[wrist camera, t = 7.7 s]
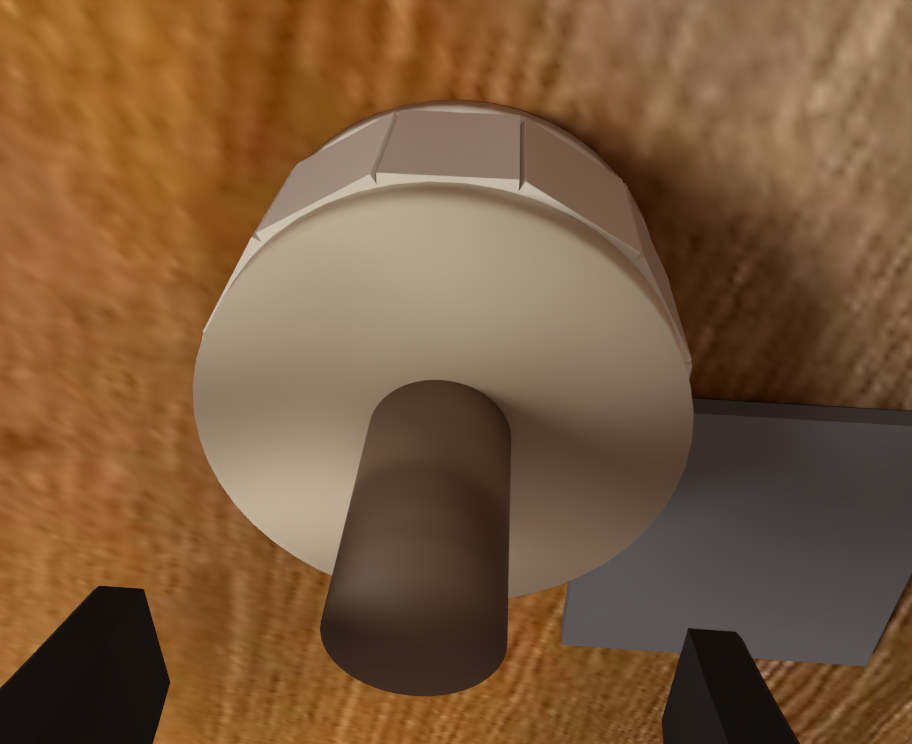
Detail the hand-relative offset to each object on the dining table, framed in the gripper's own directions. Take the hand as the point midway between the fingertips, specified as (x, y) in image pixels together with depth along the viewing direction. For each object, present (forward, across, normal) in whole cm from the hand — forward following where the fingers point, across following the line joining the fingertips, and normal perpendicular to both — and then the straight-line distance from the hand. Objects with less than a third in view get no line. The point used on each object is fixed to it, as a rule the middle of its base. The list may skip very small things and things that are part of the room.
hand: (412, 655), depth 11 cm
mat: (+10, -8, +7) cm, 14 cm away
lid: (+6, 0, 0) cm, 6 cm away
